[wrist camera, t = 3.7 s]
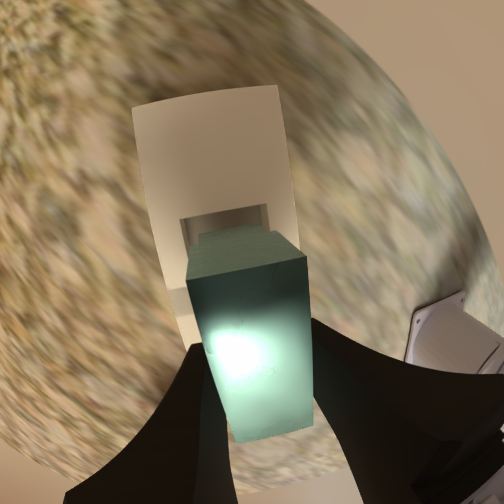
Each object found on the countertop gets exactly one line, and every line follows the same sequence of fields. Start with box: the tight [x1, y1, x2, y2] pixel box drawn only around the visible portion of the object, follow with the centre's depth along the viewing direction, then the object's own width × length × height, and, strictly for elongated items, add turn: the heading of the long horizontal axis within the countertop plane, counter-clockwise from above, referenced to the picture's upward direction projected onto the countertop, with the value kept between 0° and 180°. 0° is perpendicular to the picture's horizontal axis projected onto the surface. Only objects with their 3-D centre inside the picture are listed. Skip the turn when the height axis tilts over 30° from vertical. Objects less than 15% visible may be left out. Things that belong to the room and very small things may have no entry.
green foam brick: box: [185, 223, 313, 444], centre depth 10 cm, size 7×3×6 cm, turn 9°
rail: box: [132, 85, 300, 420], centre depth 16 cm, size 20×7×4 cm, turn 9°
